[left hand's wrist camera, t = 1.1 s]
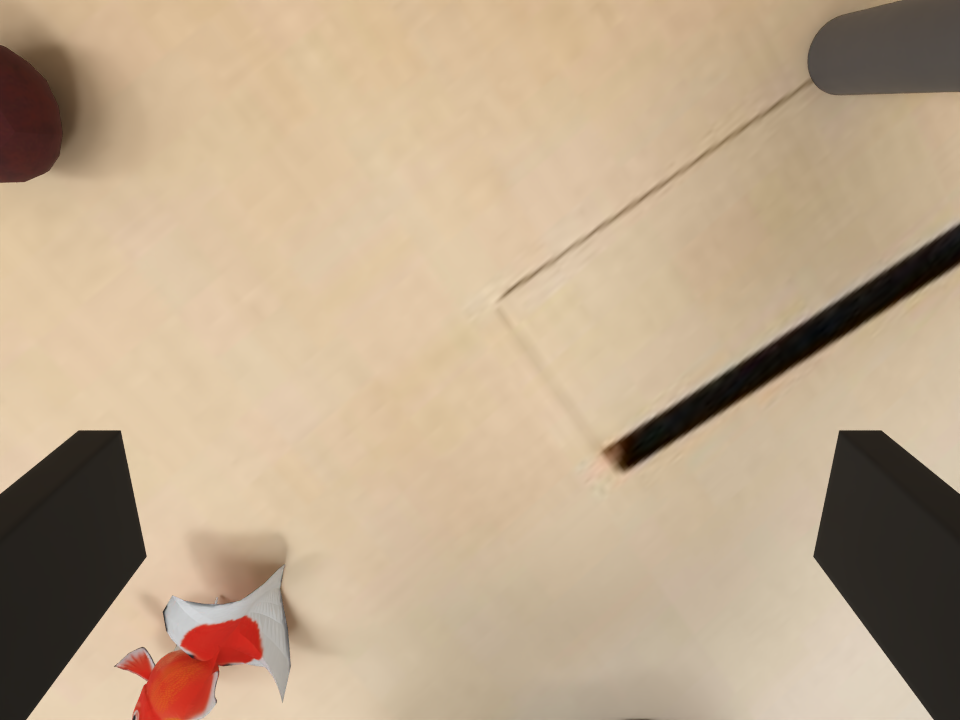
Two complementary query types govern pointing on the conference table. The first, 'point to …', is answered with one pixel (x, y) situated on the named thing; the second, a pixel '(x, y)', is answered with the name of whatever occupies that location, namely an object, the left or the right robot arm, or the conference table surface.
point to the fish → (211, 651)
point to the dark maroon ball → (26, 121)
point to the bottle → (890, 50)
